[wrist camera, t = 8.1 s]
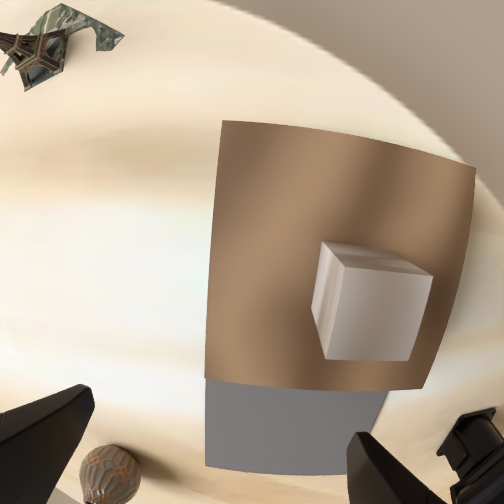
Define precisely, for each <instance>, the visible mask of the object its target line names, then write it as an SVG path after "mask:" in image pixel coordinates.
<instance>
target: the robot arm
mask: <svg viewBox="0 0 504 504" xmlns="http://www.w3.org/2000/svg"><path fill="white" fill-rule="evenodd" d="M94 408H95V402H94V398H93V394H92V390H91V388H90V387H88V386H86V385H83V384H78V385H75V386H73V387H70V388H68V389H65V390H63V391H60V392H58V393H55V394H52V395H50V396H47V397H45V398H42V399H39V400H37V401H34V402H31V403H28V404H26V405H23V406H20V407H17V408H14V409H12V410H9V411H6V412H4V413H0V504H46V503H47V501H48V499H49V497H50V495H51V493H52V491H53V490H54V488H55V486H56V484H57V482H58V480H59V478H60V477H61V475H62V473H63V471H64V469H65V468H66V466H67V464H68V462H69V460H70V459H71V457H72V455H73V453H74V452H75V450H76V448H77V446H78V445H79V443H80V441H81V439H82V436H83V434H84V432H85V429H86V427H87V425H88V422H89V420H90V418H91V415H92V413H93V411H94ZM495 413H496V409H495V408H492V409H488V410H484V411H480V412H476V413H472V414H468V415H463V416H461V417H460V418H459V419H458V420H457V422H456V423H455V425H454V427H453V428H452V430H451V432H450V433H449V435H448V436H447V438H446V439H445V441H444V442H443V444H442V445H441V447H440V448H439V450H438V451H437V453H436V454H437V456H442V455H445V456H446V458H447V460H448V462H449V464H450V466H451V468H452V470H453V471H456V473H457V475H458V477H459V479H460V481H459V482H457V483H456V484H455V485H452V486H451V487H450V492H451V493H450V494H451V499H452V503H453V504H504V438H503V436H502V435H501V434H500V432H499V431H498V429H497V428H496V427H495V425H494V424H493V423H492V421H491V419H492V418H493V416H494V414H495ZM346 455H347V484H348V494H349V501H350V504H447V503H446V502H444V501H443V500H442V499H441V498H440V497H438V496H437V495H436V494H435V493H434V492H432V491H431V490H429V488H428V487H427V486H426V485H424V484H423V483H422V482H421V481H420V480H419V479H418V478H417V477H415V476H414V475H413V474H412V473H411V472H410V471H409V470H408V469H407V468H406V467H404V466H403V465H402V464H401V463H400V462H399V461H398V460H397V459H396V458H395V457H394V456H393V455H392V454H390V453H389V452H388V451H387V450H386V449H385V448H384V447H383V446H382V445H381V444H380V443H379V442H378V441H377V440H376V439H375V438H374V437H373V436H372V435H371V434H369V433H368V432H366V431H362V432H355V433H354V435H353V437H352V439H351V441H350V443H349V445H348V447H347V451H346Z"/></svg>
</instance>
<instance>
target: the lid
mask: <svg viewBox="0 0 504 504" xmlns="http://www.w3.org/2000/svg"><path fill="white" fill-rule="evenodd" d="M475 174H476V168H474V167H471V166H468V165H465V164H462V163H459V162H456V161H453V160H450V159H447V158H444V157H441V156H437V155H434V154H430V153H427V152H423V151H420V150H416V149H412V148H408V147H404V146H400V145H396V144H392V143H388V142H383V141H379V140H374V139H369V138H365V137H360V136H354V135H349V134H343V133H338V132H332V131H325V130H319V129H312V128H304V127H297V126H288V125H279V124H269V123H258V122H244V121H227V120H222V129H221V138H220V147H219V156H218V166H217V176H216V187H215V198H214V210H213V222H212V235H211V249H210V264H209V280H208V298H207V319H206V344H205V378H206V379H212V380H219V381H225V382H232V383H240V384H247V385H256V386H265V387H275V388H287V389H301V390H319V391H392V390H410V389H422V388H423V386H424V383H425V381H426V379H427V377H428V374H429V372H430V369H431V367H432V365H433V362H434V360H435V357H436V354H437V352H438V349H439V346H440V344H441V341H442V338H443V335H444V332H445V329H446V326H447V323H448V320H449V317H450V313H451V310H452V307H453V303H454V300H455V296H456V292H457V288H458V285H459V280H460V276H461V272H462V268H463V263H464V258H465V253H466V248H467V242H468V237H469V230H470V224H471V216H472V208H473V199H474V188H475Z"/></svg>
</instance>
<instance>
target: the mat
mask: <svg viewBox="0 0 504 504" xmlns="http://www.w3.org/2000/svg"><path fill="white" fill-rule="evenodd" d="M387 392H388V391H319V390H301V389H287V388H275V387H265V386H256V385H247V384H240V383H232V382H225V381H219V380H212V379H206V390H205V466H208V467H214V468H220V469H227V470H234V471H242V472H251V473H262V474H276V475H306V476H315V475H344V474H347V455H346V451H347V447H348V445H349V443H350V441H351V439H352V437H353V435H354V433H355V432H362V431H366V432H368V433H369V432H370V430H371V428H372V425H373V423H374V421H375V419H376V417H377V415H378V413H379V410H380V408H381V406H382V404H383V401H384V399H385V397H386V394H387Z"/></svg>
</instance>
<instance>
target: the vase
mask: <svg viewBox="0 0 504 504" xmlns="http://www.w3.org/2000/svg"><path fill="white" fill-rule="evenodd" d="M79 476H80V482H81V486H82V490H83V495H84V503H85V504H125V503H127V502H128V501H130V500H131V499H132V498H133V497H134V495H135V494H136V493H137V491H138V488H139V485H140V481H141V472H140V468H139V466H138V464H137V462H136V460H135V459H134V457H133V456H132V455H131V454H129V453H128V452H127V451H125V450H123V449H121V448H119V447H116V446H100V447H97V448H95V449H94V450H92V451H91V452H90V453H89V454H88V455H87V456H86V457H85V459H84V460H83V462H82V464H81V468H80V475H79Z"/></svg>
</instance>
